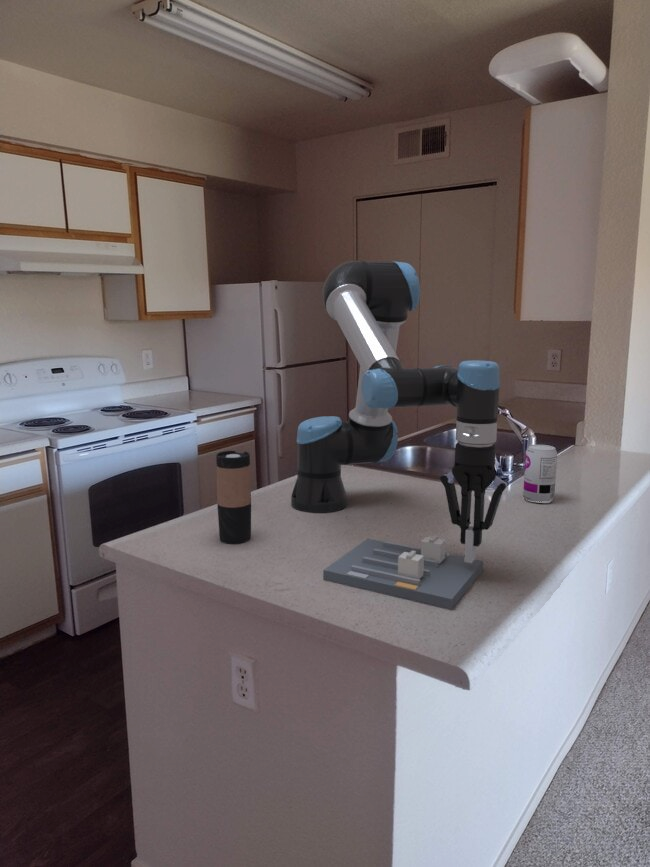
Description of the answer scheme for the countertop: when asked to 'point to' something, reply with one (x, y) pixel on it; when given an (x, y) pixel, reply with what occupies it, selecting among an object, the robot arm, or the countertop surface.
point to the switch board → (379, 573)
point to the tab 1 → (411, 565)
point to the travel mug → (234, 496)
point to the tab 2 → (433, 548)
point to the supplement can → (540, 473)
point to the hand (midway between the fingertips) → (469, 560)
